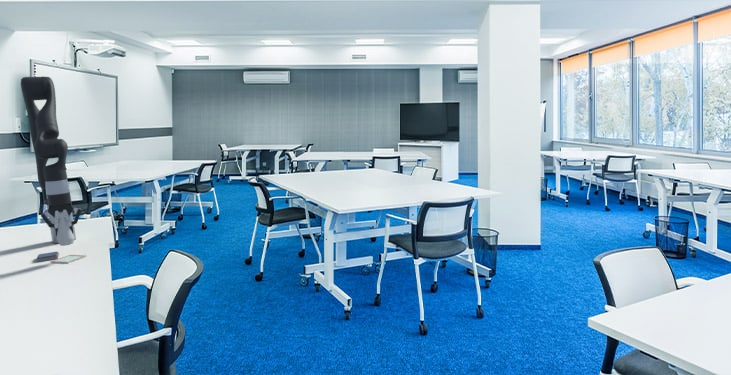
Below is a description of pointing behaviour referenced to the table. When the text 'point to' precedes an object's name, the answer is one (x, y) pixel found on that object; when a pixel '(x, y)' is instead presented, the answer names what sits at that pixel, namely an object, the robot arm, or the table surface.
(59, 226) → the salt shaker
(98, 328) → the table surface
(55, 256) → the ink pad
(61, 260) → the marked square
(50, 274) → the table surface
